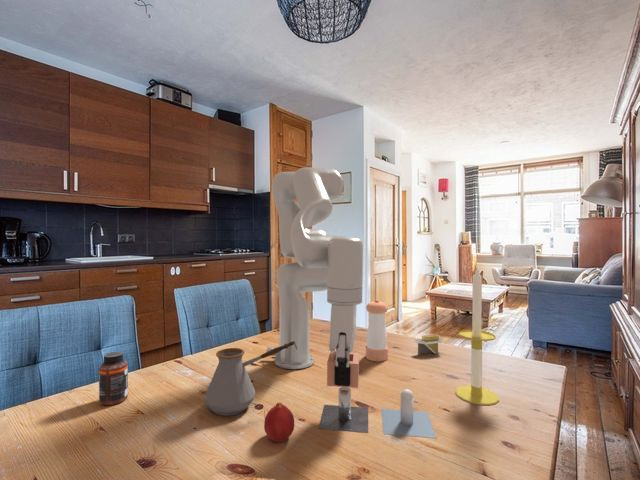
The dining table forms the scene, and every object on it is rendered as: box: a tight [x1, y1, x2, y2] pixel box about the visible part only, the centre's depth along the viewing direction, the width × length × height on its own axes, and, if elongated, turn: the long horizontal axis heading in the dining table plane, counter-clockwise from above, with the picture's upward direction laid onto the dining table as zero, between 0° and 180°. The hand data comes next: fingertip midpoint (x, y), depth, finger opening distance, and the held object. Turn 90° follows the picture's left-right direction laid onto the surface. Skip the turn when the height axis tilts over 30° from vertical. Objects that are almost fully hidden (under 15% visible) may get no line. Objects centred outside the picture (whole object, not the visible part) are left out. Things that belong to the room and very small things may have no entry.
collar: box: [326, 350, 360, 389], centre depth 73 cm, size 6×6×5 cm
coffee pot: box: [204, 341, 297, 417], centre depth 80 cm, size 21×12×15 cm, turn 96°
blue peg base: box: [381, 388, 437, 439], centre depth 71 cm, size 10×10×8 cm
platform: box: [413, 334, 443, 355], centre depth 116 cm, size 12×18×7 cm, turn 108°
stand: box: [317, 387, 369, 434], centre depth 73 cm, size 10×10×7 cm
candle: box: [454, 267, 500, 406], centre depth 85 cm, size 10×10×32 cm
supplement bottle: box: [98, 351, 129, 406], centre depth 82 cm, size 6×6×11 cm
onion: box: [263, 401, 295, 443], centre depth 65 cm, size 6×6×8 cm
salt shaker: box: [365, 299, 389, 362], centre depth 112 cm, size 7×7×19 cm
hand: (343, 376), depth 73 cm, fingers closed on collar, 6 cm apart
